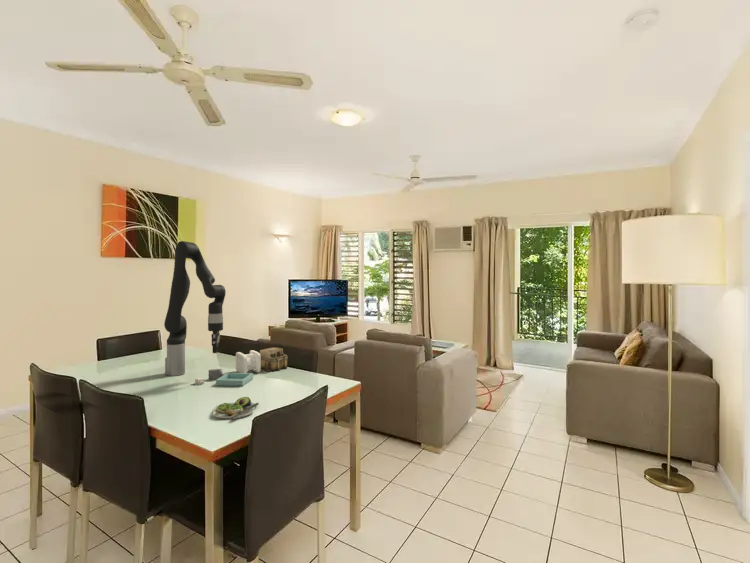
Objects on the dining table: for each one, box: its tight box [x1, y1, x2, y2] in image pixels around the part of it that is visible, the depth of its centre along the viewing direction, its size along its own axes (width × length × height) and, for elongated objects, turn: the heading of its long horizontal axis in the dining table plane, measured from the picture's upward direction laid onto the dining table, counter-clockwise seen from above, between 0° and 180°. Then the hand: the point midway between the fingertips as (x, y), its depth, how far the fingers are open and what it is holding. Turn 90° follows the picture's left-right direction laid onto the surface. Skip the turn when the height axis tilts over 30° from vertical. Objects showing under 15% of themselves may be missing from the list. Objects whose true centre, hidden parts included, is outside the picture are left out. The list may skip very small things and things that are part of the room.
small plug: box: [194, 377, 205, 386], centre depth 202 cm, size 5×3×3 cm, turn 52°
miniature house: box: [259, 346, 289, 373], centre depth 235 cm, size 15×14×11 cm
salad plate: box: [211, 396, 260, 420], centre depth 161 cm, size 19×18×5 cm
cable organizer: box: [235, 349, 262, 374], centre depth 225 cm, size 15×11×12 cm
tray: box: [215, 372, 254, 387], centre depth 205 cm, size 14×14×3 cm
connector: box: [208, 368, 227, 381], centre depth 211 cm, size 9×3×5 cm, turn 106°
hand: (215, 351), depth 211 cm, fingers open, 8 cm apart
